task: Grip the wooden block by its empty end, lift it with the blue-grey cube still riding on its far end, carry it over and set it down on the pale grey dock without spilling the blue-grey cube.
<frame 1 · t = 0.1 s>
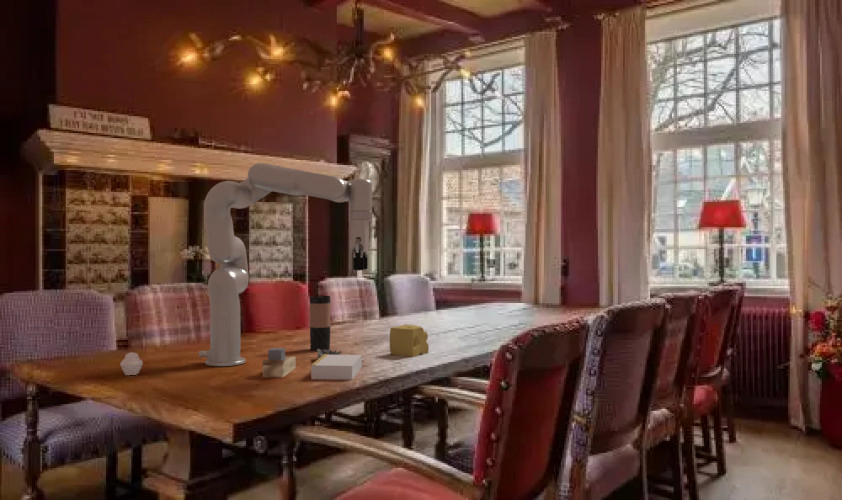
hand: (360, 269, 211), 31 cm above the table, tool pointing down, fingers open, 9 cm apart
blue-grey cube: (276, 362, 195), point 4 cm above the table
wooden block: (279, 373, 198), on the table
egg carton: (328, 361, 219), on the table
cheese: (408, 354, 233), on the table
grey faceted stone: (131, 375, 193), on the table
travel mug: (320, 350, 243), on the table
dock: (337, 373, 197), on the table
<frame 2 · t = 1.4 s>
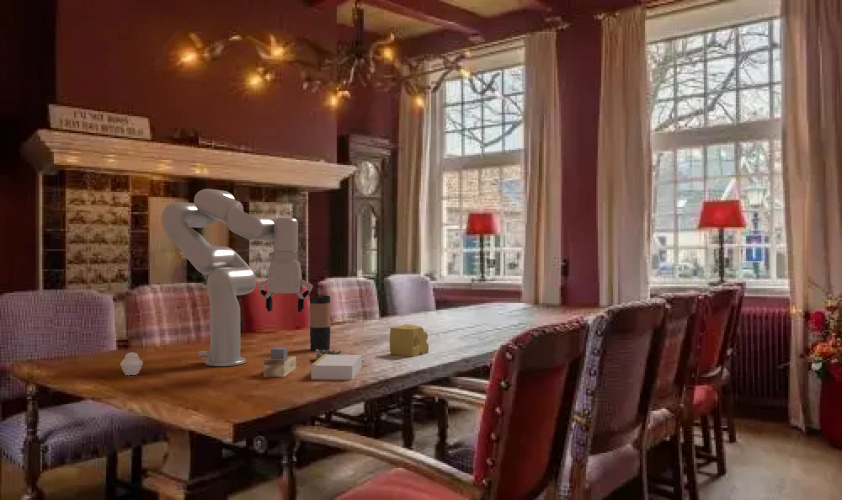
hand: (285, 311, 203), 18 cm above the table, tool pointing down, fingers open, 9 cm apart
blue-grey cube: (279, 361, 197), point 4 cm above the table, touching wooden block
wooden block: (280, 373, 199), on the table, touching blue-grey cube
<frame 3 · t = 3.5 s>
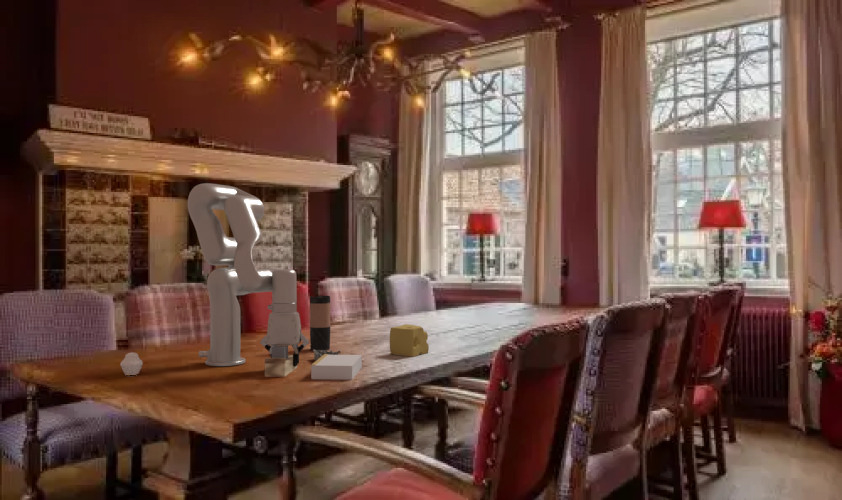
hand: (284, 365, 203), 1 cm above the table, tool pointing down, fingers closed on wooden block, 6 cm apart
blue-grey cube: (279, 359, 198), point 4 cm above the table, touching wooden block
wooden block: (281, 372, 199), on the table, touching blue-grey cube, gripper
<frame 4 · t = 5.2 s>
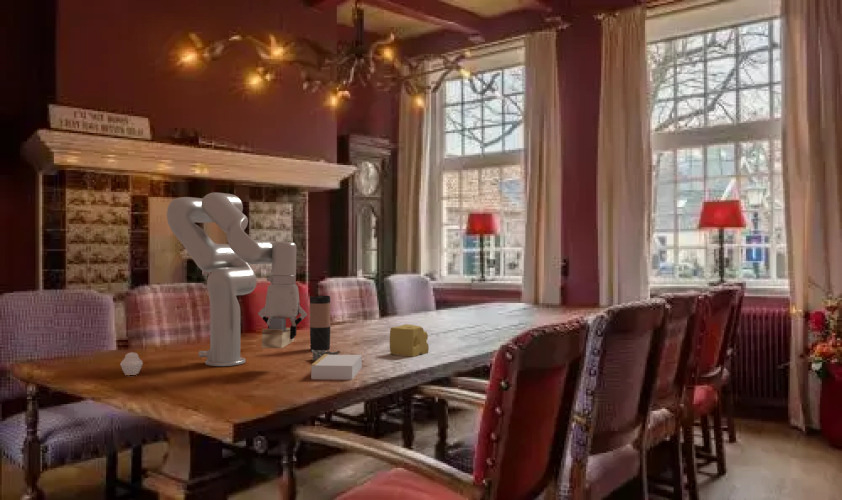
hand: (282, 337, 203), 10 cm above the table, tool pointing down, fingers closed on wooden block, 6 cm apart
blue-grey cube: (277, 331, 199), point 12 cm above the table, touching wooden block
wooden block: (278, 343, 200), point 8 cm above the table, touching blue-grey cube, gripper
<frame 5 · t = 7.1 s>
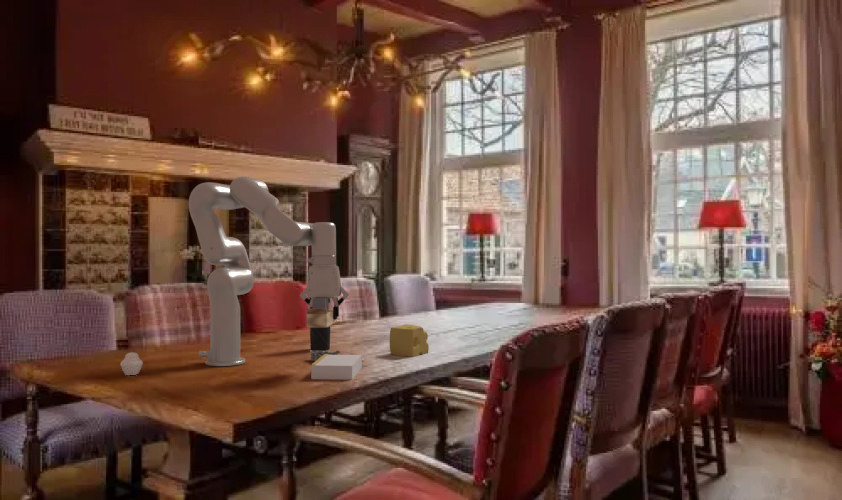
hand: (324, 318, 202), 16 cm above the table, tool pointing down, fingers closed on wooden block, 6 cm apart
blue-grey cube: (320, 311, 198), point 19 cm above the table, touching wooden block
wooden block: (322, 324, 198), point 15 cm above the table, touching blue-grey cube, gripper
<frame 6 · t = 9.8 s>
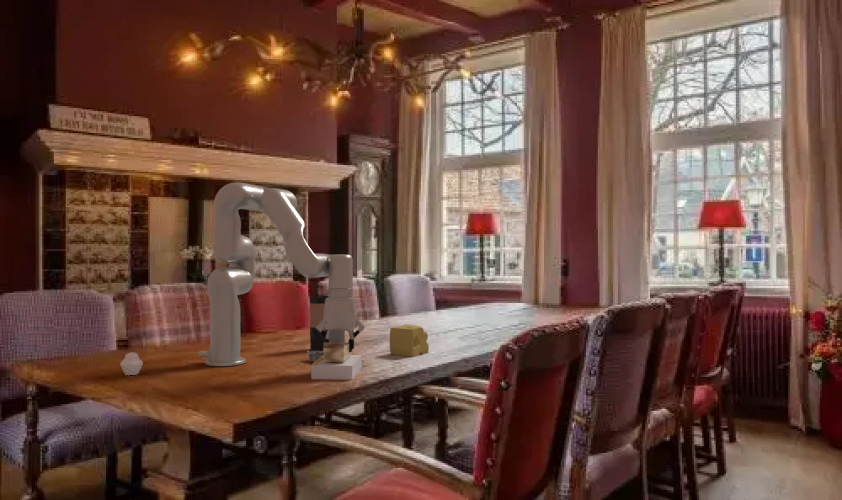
hand: (340, 350, 202), 6 cm above the table, tool pointing down, fingers closed on wooden block, 5 cm apart
blue-grey cube: (336, 344, 198), point 9 cm above the table, touching wooden block
wooden block: (338, 357, 198), point 5 cm above the table, touching blue-grey cube, gripper
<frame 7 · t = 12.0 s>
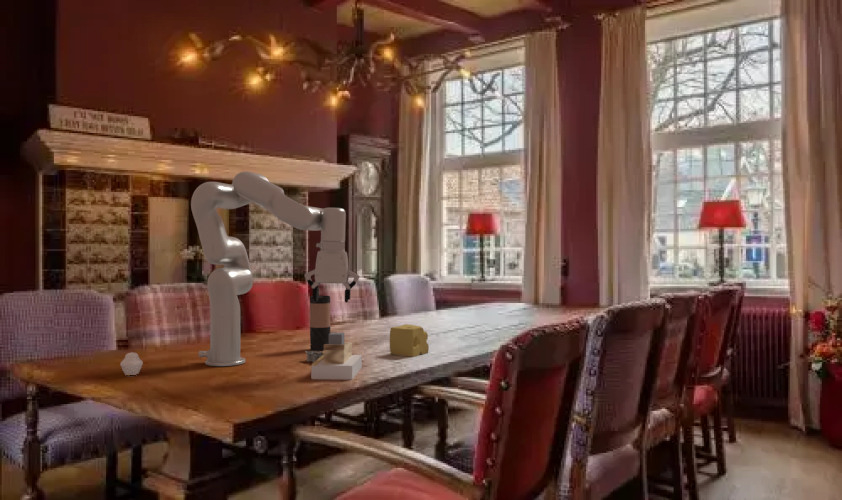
hand: (331, 301, 203), 21 cm above the table, tool pointing down, fingers open, 9 cm apart
wooden block: (338, 359, 198), point 4 cm above the table, touching blue-grey cube, dock
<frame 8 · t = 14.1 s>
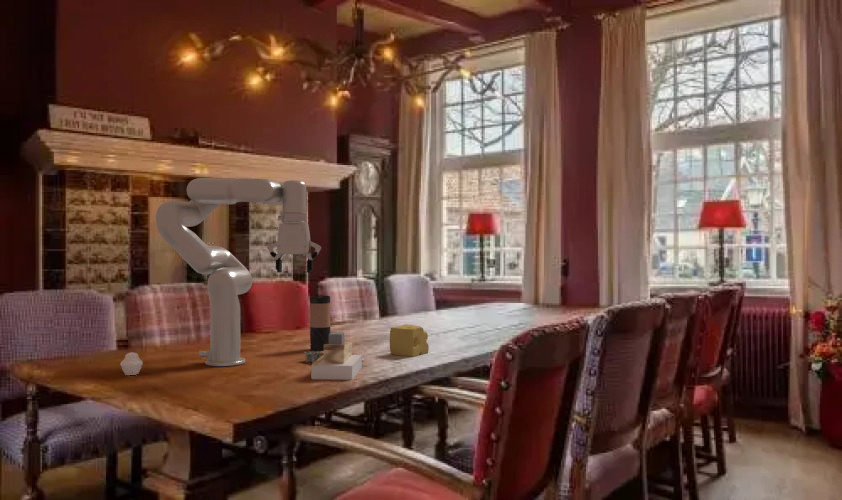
hand: (294, 272, 208), 30 cm above the table, tool pointing down, fingers open, 9 cm apart
at the end: wooden block 1.3 cm off-centre on the dock, point 4.0 cm above the dock's base; blue-grey cube 2.7 cm from the target spot on the wooden block, point 4.0 cm above the wooden block's base; the gripper is holding nothing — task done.
